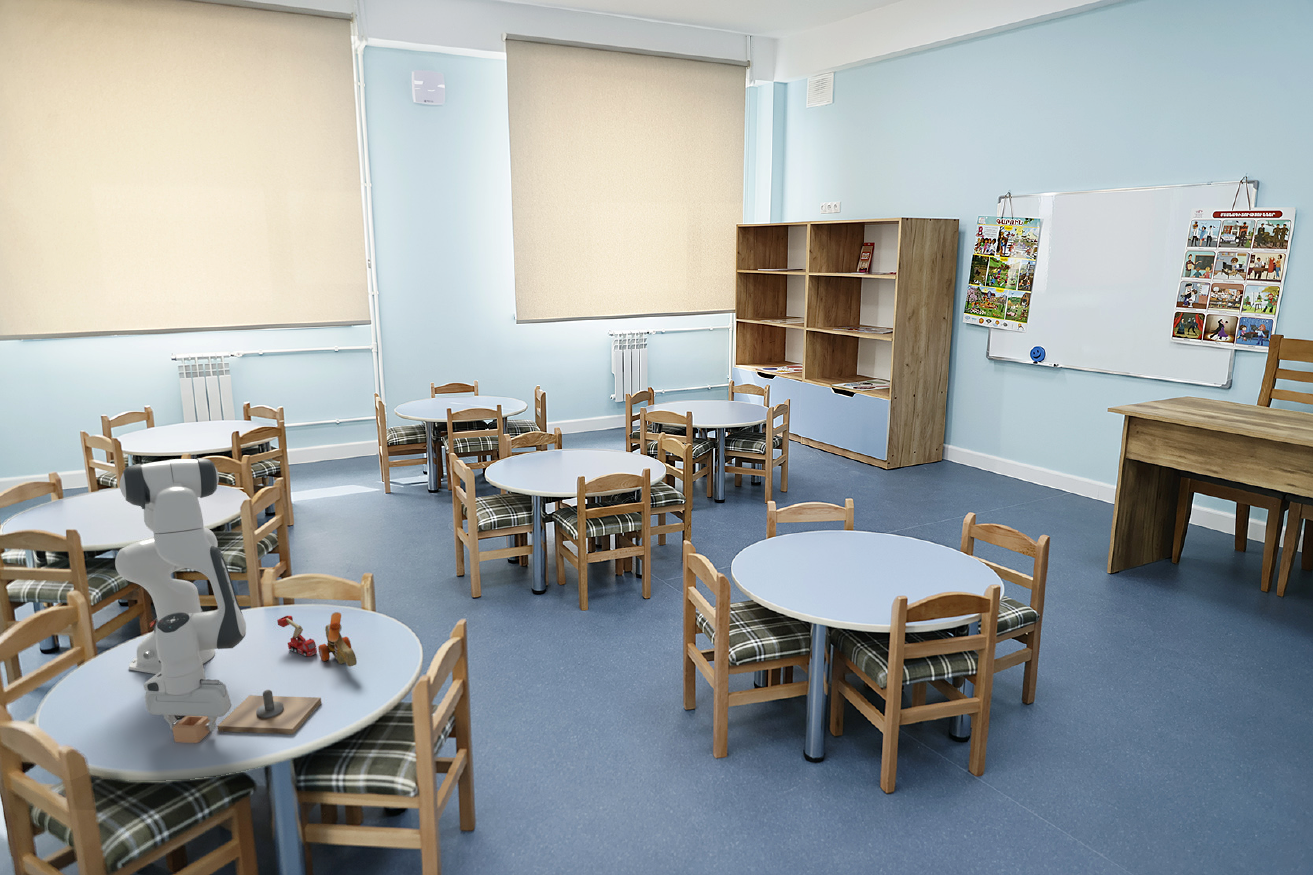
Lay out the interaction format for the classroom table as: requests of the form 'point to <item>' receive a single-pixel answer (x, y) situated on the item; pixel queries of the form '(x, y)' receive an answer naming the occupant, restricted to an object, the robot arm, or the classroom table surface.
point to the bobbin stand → (270, 714)
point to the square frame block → (191, 729)
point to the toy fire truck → (298, 638)
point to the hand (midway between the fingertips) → (193, 728)
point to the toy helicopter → (337, 643)
